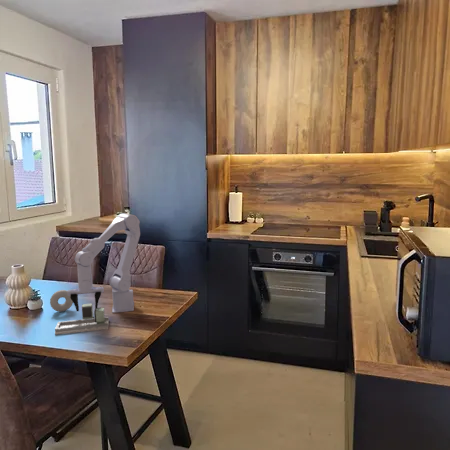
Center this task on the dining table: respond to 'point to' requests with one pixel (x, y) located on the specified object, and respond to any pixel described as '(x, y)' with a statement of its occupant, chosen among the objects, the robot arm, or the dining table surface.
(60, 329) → the tray
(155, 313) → the dining table surface
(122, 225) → the robot arm
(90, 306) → the pale green cuboid
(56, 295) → the donut
